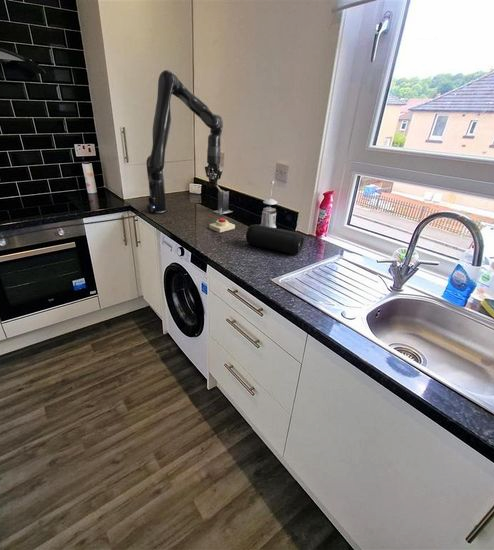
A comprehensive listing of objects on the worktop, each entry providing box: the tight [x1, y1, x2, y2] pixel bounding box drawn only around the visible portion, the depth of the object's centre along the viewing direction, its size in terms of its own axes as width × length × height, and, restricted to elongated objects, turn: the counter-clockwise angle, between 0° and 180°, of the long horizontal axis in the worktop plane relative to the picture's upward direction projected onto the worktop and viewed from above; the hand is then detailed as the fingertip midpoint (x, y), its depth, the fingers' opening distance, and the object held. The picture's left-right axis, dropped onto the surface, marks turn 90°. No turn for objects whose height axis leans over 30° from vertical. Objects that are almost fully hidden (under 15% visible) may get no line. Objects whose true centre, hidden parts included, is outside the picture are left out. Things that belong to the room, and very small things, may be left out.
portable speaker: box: [245, 223, 305, 255], centre depth 143 cm, size 26×10×10 cm, turn 61°
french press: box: [259, 180, 278, 228], centre depth 168 cm, size 10×12×25 cm
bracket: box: [212, 189, 234, 215], centre depth 190 cm, size 10×8×14 cm
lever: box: [210, 178, 224, 196], centre depth 183 cm, size 15×3×3 cm
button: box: [218, 217, 227, 223], centre depth 167 cm, size 4×4×2 cm
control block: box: [208, 219, 236, 233], centre depth 168 cm, size 11×9×4 cm
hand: (213, 185), depth 180 cm, fingers closed on lever, 3 cm apart
